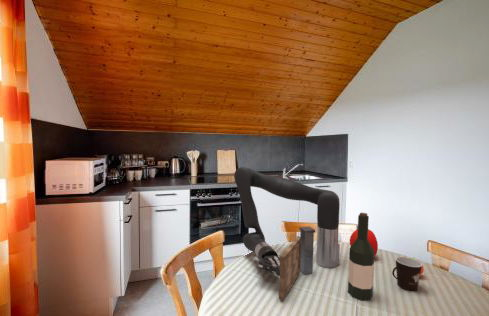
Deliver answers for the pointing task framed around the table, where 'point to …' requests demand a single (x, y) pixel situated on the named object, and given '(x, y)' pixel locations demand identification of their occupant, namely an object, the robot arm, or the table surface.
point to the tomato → (371, 239)
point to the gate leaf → (289, 267)
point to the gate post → (306, 250)
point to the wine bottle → (361, 263)
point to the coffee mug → (407, 273)
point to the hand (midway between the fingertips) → (282, 274)
